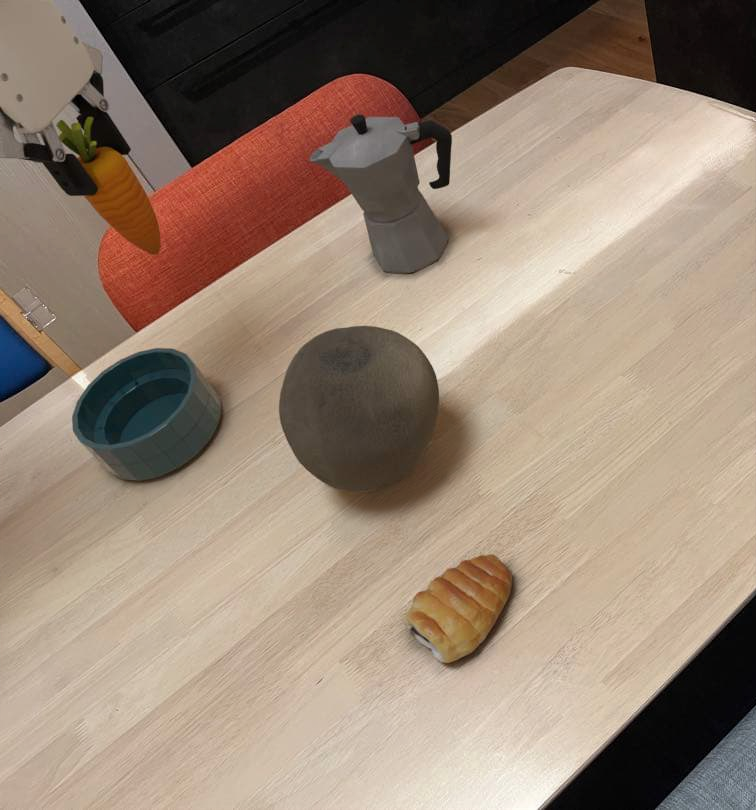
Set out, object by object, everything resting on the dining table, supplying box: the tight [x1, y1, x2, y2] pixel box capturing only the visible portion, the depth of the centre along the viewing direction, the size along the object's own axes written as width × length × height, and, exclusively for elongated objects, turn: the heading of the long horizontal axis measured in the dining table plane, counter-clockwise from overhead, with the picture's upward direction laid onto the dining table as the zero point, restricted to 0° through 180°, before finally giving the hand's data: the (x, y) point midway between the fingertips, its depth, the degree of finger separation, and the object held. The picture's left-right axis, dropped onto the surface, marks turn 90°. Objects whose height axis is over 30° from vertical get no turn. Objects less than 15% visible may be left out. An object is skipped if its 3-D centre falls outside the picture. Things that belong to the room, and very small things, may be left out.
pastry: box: [402, 553, 513, 664], centre depth 74 cm, size 9×7×4 cm
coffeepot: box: [309, 114, 453, 275], centre depth 101 cm, size 15×9×18 cm, turn 94°
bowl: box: [71, 347, 222, 482], centre depth 95 cm, size 13×13×6 cm
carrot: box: [56, 117, 162, 256], centre depth 83 cm, size 5×5×15 cm
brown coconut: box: [278, 325, 440, 493], centre depth 82 cm, size 14×14×15 cm
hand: (99, 171), depth 82 cm, fingers closed on carrot, 5 cm apart
